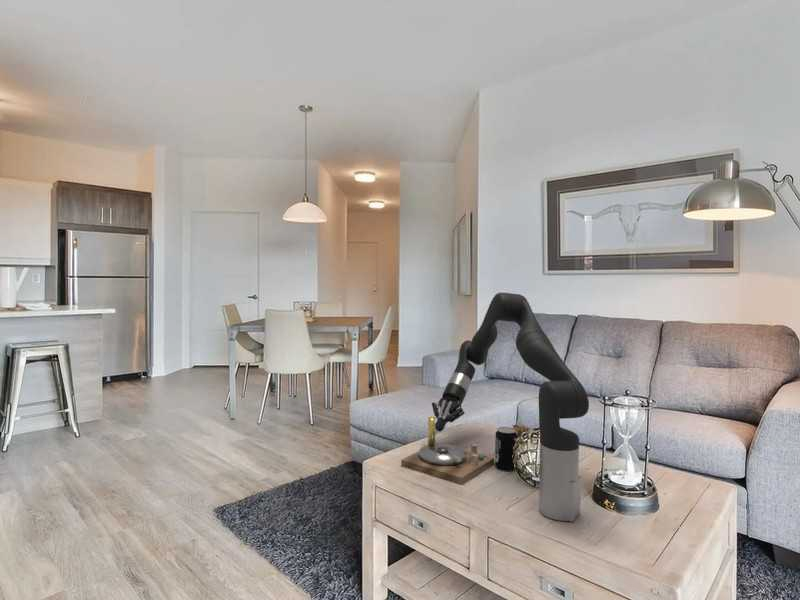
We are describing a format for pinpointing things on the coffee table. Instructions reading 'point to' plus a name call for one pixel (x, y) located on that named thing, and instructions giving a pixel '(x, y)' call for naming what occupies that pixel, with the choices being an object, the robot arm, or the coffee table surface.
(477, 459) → the turntable
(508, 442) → the beverage can
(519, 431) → the lion figurine
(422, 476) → the coffee table surface
